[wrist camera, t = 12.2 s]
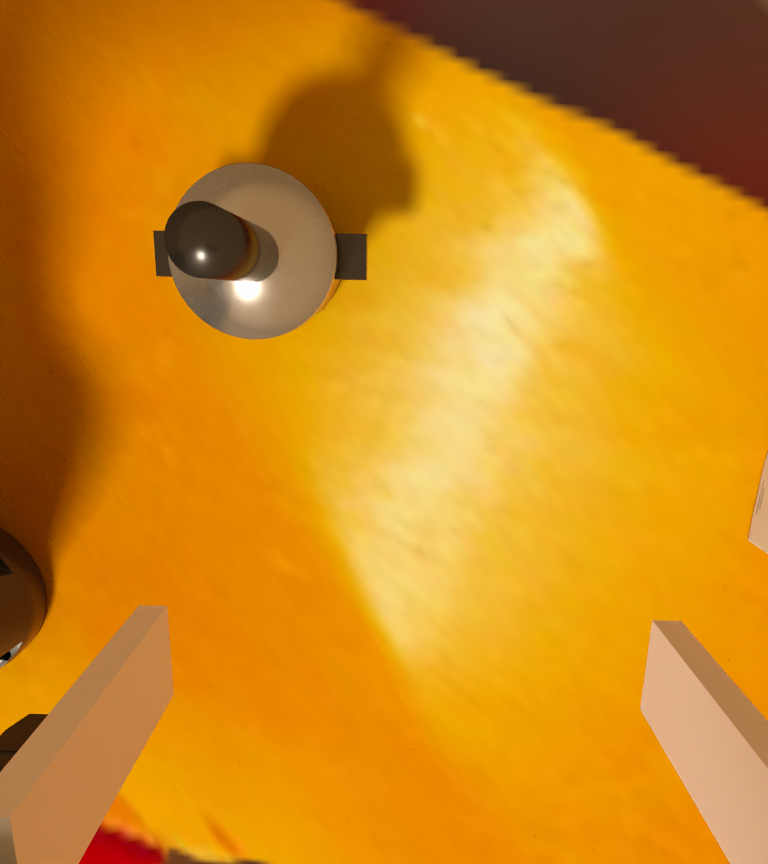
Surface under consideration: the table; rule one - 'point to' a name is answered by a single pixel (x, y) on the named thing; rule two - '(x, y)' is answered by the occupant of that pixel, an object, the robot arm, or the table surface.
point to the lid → (251, 251)
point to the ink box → (761, 513)
